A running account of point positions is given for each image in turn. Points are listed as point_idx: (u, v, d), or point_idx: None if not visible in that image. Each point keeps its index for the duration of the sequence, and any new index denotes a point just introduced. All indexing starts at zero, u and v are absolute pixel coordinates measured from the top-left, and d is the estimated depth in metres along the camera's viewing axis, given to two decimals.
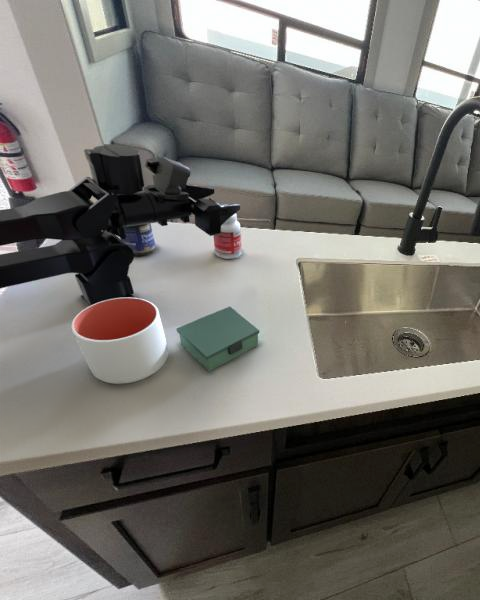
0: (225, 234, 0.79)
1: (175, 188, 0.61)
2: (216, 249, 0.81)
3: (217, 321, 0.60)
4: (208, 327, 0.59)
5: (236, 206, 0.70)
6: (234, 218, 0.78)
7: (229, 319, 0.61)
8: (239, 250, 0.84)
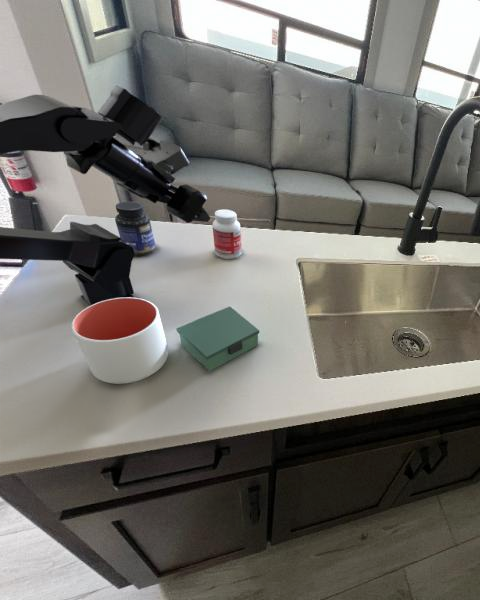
0: (225, 234, 0.79)
1: (168, 166, 0.60)
2: (216, 249, 0.81)
3: (217, 321, 0.60)
4: (208, 327, 0.59)
5: (208, 216, 0.68)
6: (234, 218, 0.78)
7: (229, 319, 0.61)
8: (239, 250, 0.84)
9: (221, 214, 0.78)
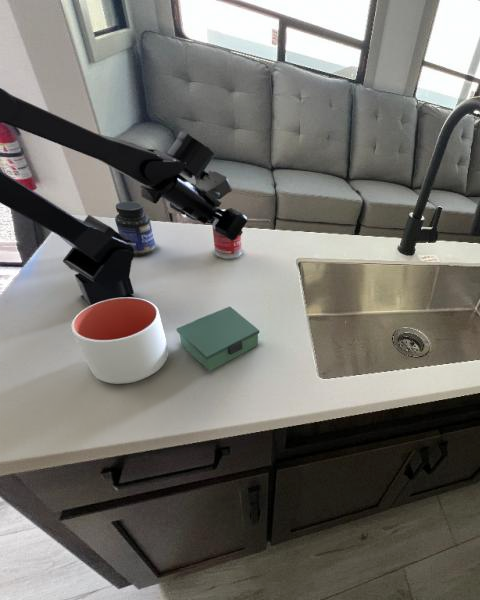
0: None
1: (216, 193, 0.71)
2: (216, 249, 0.81)
3: (217, 321, 0.60)
4: (208, 327, 0.59)
5: (241, 231, 0.80)
6: None
7: (229, 319, 0.61)
8: (239, 250, 0.84)
9: None
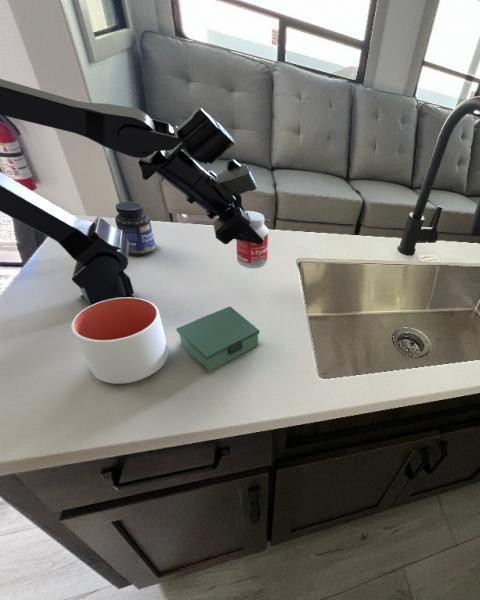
0: None
1: (231, 187, 0.59)
2: None
3: (217, 321, 0.60)
4: (208, 327, 0.59)
5: (260, 239, 0.67)
6: (256, 223, 0.66)
7: (229, 319, 0.61)
8: (259, 261, 0.70)
9: None
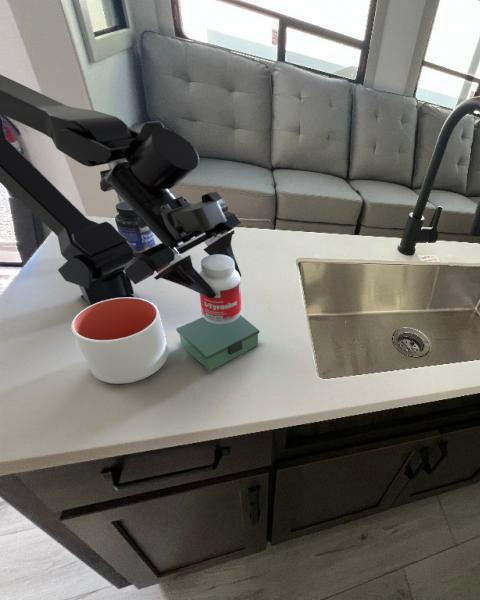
0: None
1: (177, 220, 0.46)
2: None
3: None
4: (208, 327, 0.59)
5: (208, 292, 0.51)
6: (210, 271, 0.50)
7: None
8: (214, 317, 0.55)
9: (212, 259, 0.52)
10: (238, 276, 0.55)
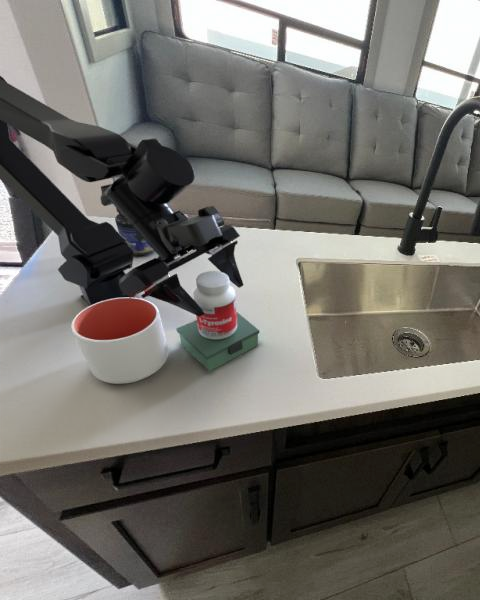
0: None
1: (172, 235, 0.47)
2: None
3: None
4: None
5: (196, 310, 0.50)
6: (205, 289, 0.51)
7: None
8: (209, 332, 0.55)
9: (207, 276, 0.53)
10: (233, 292, 0.55)
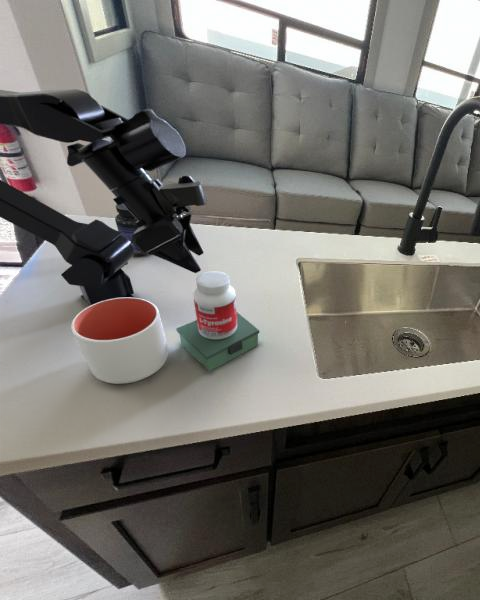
0: None
1: (172, 196, 0.52)
2: None
3: None
4: None
5: (196, 266, 0.55)
6: (205, 289, 0.51)
7: None
8: (209, 332, 0.55)
9: (207, 276, 0.53)
10: (233, 292, 0.55)
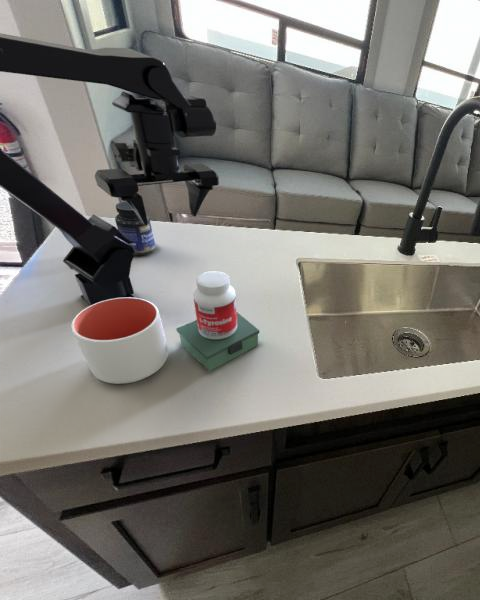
0: None
1: None
2: None
3: None
4: None
5: None
6: (205, 289, 0.51)
7: None
8: (209, 332, 0.55)
9: (207, 276, 0.53)
10: (233, 292, 0.55)
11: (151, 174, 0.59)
